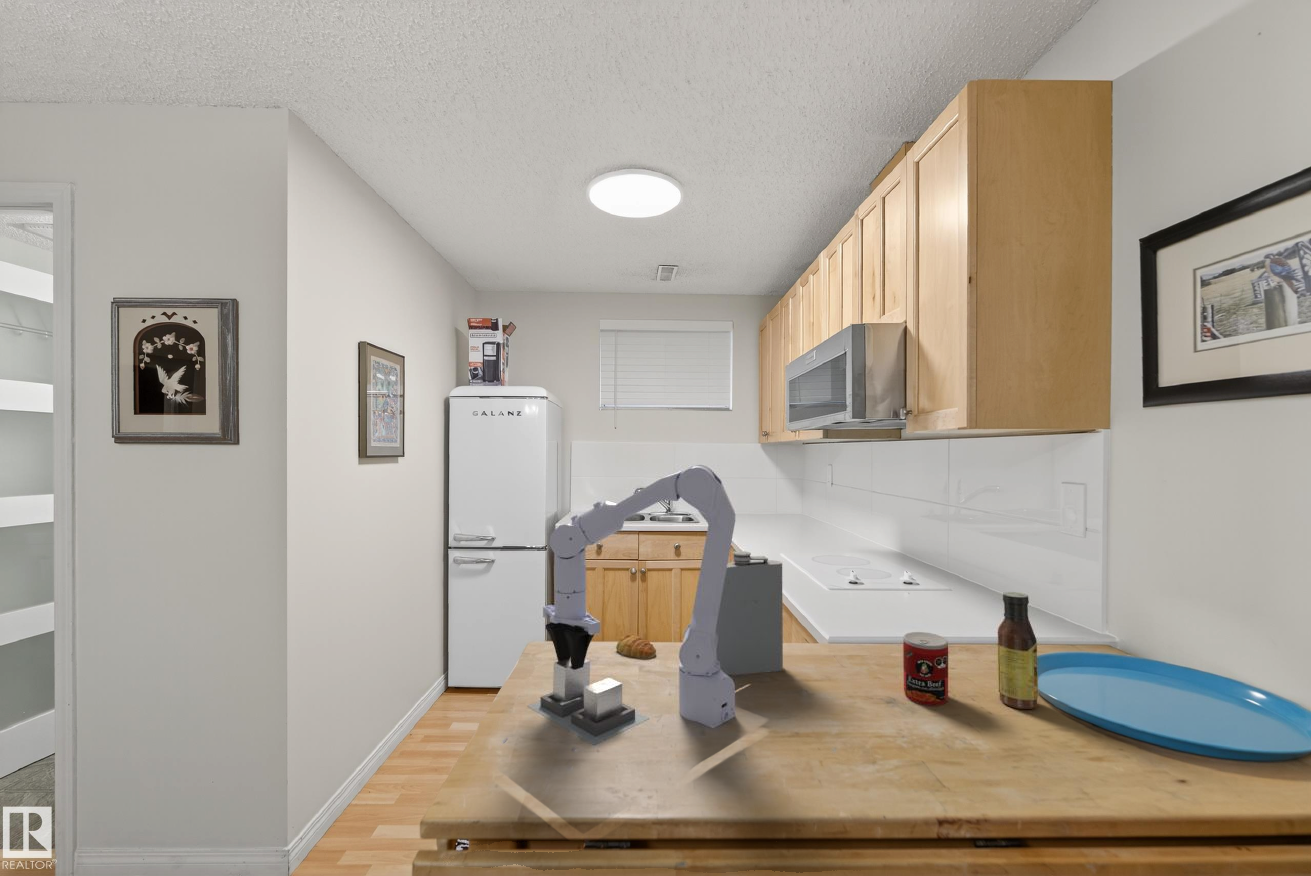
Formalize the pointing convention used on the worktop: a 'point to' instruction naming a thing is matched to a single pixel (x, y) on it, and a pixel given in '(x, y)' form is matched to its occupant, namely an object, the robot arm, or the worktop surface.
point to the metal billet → (570, 680)
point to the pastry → (635, 647)
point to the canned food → (925, 668)
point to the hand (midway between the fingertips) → (570, 664)
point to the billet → (602, 700)
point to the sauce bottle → (1017, 654)
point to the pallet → (574, 719)
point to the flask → (751, 616)
